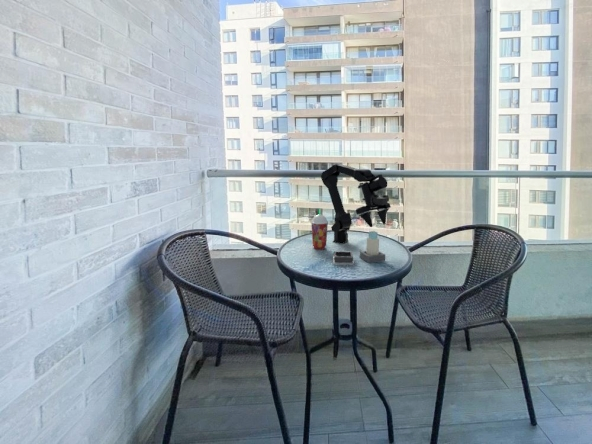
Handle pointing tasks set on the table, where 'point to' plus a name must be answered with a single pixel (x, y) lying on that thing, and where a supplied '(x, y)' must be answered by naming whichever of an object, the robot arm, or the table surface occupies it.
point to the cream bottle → (372, 244)
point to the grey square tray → (372, 257)
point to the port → (343, 258)
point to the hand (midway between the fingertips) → (378, 225)
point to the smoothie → (319, 231)
